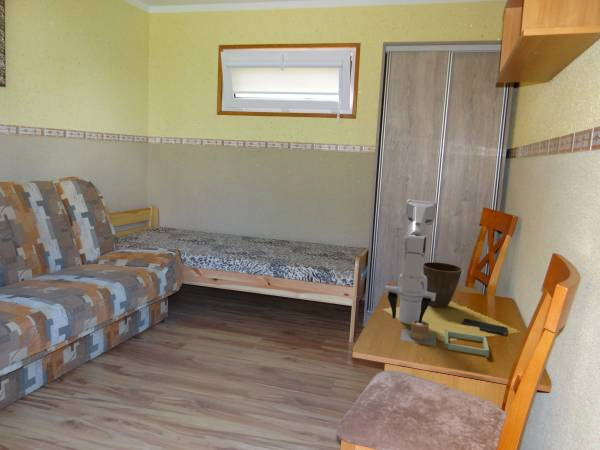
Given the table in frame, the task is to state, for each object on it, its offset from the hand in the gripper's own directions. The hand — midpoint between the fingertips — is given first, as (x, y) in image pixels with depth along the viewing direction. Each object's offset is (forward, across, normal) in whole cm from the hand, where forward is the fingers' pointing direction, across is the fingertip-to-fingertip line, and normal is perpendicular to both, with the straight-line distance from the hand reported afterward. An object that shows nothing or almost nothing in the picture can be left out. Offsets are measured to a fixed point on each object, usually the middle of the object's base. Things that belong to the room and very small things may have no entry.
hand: (407, 319), depth 147 cm
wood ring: (+9, +3, +12) cm, 16 cm away
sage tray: (+10, +18, +13) cm, 24 cm away
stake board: (+10, +3, +12) cm, 16 cm away
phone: (+11, +24, +37) cm, 45 cm away
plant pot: (+10, +7, +56) cm, 57 cm away
